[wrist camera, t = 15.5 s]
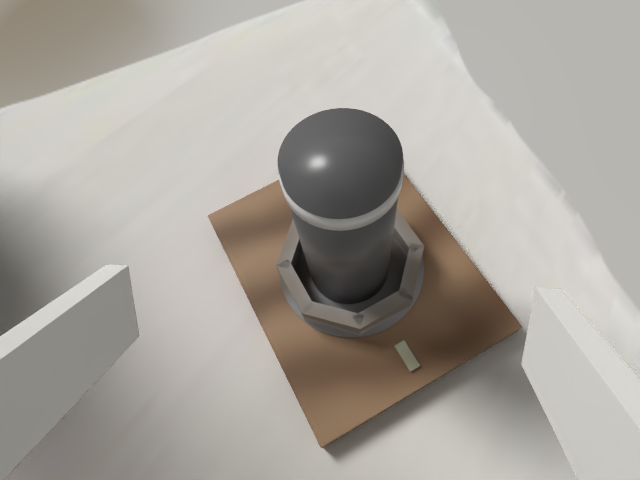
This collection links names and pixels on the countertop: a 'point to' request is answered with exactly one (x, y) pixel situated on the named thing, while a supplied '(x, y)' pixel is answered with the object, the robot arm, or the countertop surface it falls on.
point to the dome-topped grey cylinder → (343, 199)
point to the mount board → (361, 310)
